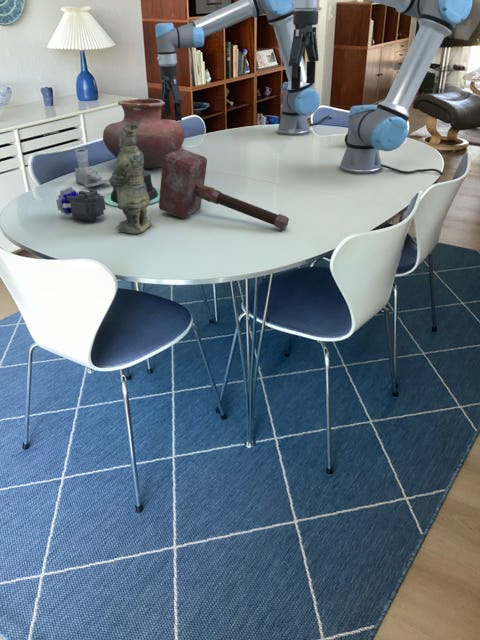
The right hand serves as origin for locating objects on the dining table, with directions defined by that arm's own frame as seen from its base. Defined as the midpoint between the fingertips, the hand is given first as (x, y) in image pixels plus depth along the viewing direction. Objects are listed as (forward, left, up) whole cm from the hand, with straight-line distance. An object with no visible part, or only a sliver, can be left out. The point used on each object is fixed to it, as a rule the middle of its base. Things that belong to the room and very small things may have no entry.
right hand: (303, 86), depth 177 cm
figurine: (-32, -65, -33) cm, 80 cm away
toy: (+68, +30, -33) cm, 81 cm away
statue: (+51, +39, -33) cm, 72 cm away
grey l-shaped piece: (+74, -5, -33) cm, 81 cm away
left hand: (+51, -61, -20) cm, 83 cm away
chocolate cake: (+56, +10, -33) cm, 66 cm away
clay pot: (+58, -28, -33) cm, 73 cm away
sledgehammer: (+25, +33, -33) cm, 53 cm away
